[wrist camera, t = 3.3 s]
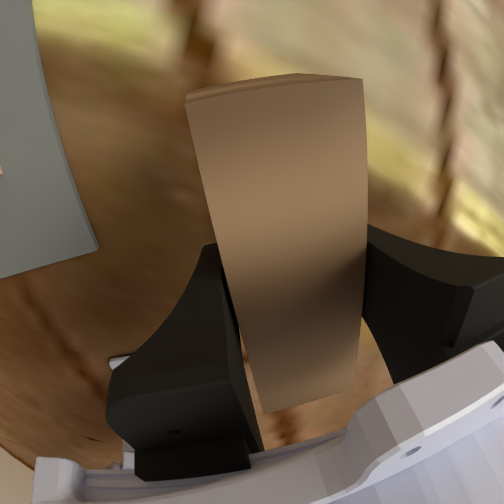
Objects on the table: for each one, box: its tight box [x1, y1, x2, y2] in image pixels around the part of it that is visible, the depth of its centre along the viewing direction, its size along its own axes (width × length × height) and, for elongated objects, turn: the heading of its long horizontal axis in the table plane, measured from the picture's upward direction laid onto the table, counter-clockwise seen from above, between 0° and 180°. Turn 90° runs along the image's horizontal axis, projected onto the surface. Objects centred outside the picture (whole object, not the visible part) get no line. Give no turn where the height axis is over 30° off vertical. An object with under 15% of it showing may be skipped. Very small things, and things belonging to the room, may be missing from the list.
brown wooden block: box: [185, 73, 368, 414], centre depth 12 cm, size 12×4×5 cm, turn 9°
